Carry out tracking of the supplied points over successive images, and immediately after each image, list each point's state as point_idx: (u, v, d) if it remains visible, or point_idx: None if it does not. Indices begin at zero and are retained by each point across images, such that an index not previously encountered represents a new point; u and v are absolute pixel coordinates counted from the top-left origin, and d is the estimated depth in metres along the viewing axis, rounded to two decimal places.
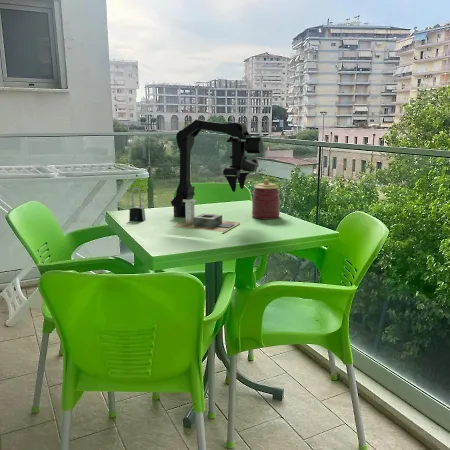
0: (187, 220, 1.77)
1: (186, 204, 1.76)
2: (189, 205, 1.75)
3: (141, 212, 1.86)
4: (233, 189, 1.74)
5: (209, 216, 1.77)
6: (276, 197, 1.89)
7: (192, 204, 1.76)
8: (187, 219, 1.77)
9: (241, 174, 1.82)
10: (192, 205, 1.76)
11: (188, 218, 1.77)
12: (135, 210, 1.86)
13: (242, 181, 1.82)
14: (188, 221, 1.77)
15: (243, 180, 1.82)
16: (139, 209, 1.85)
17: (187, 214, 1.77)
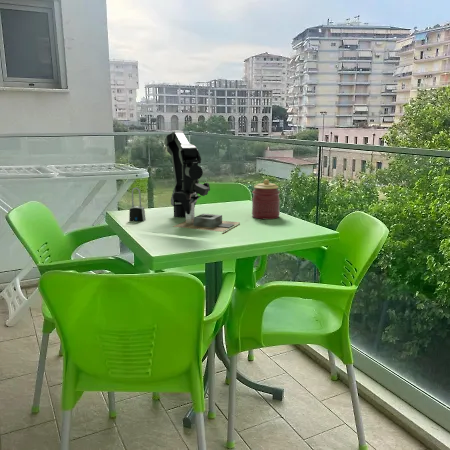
0: (187, 220, 1.77)
1: None
2: None
3: (141, 212, 1.86)
4: (187, 212, 1.76)
5: (209, 216, 1.77)
6: (276, 197, 1.89)
7: (192, 204, 1.76)
8: (187, 219, 1.77)
9: (191, 198, 1.78)
10: (192, 205, 1.76)
11: (188, 218, 1.77)
12: (135, 210, 1.86)
13: None
14: (188, 221, 1.77)
15: None
16: (139, 209, 1.85)
17: (187, 214, 1.77)
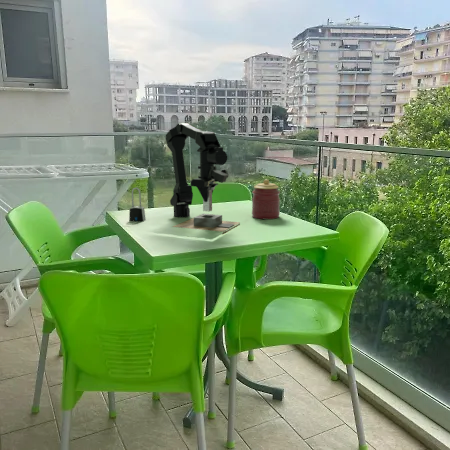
0: (204, 208, 1.73)
1: None
2: None
3: (141, 212, 1.86)
4: (205, 199, 1.71)
5: (209, 216, 1.77)
6: (276, 197, 1.89)
7: (210, 191, 1.72)
8: (204, 207, 1.73)
9: (208, 185, 1.74)
10: (210, 192, 1.72)
11: (206, 206, 1.72)
12: (135, 210, 1.86)
13: None
14: (206, 209, 1.73)
15: None
16: (139, 209, 1.85)
17: (205, 202, 1.72)
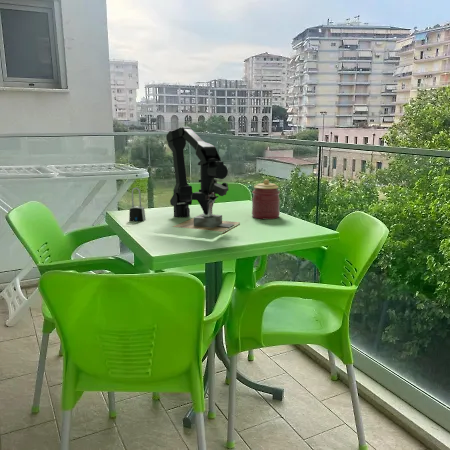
0: None
1: None
2: None
3: (141, 212, 1.86)
4: (205, 212, 1.72)
5: None
6: (276, 197, 1.89)
7: (210, 204, 1.73)
8: None
9: None
10: (210, 205, 1.73)
11: None
12: (135, 210, 1.86)
13: None
14: None
15: None
16: (139, 209, 1.85)
17: None
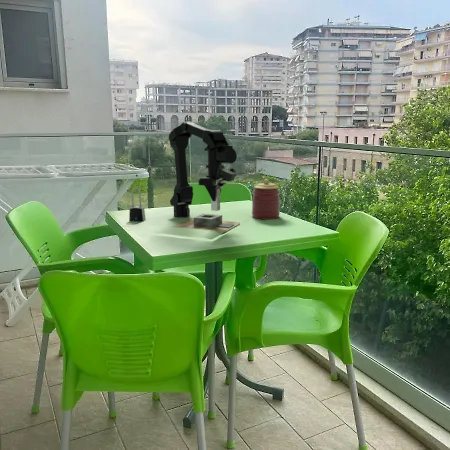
0: (213, 207, 1.71)
1: None
2: None
3: (141, 212, 1.86)
4: (213, 199, 1.69)
5: (209, 216, 1.77)
6: (276, 197, 1.89)
7: (218, 190, 1.70)
8: (213, 206, 1.71)
9: (216, 185, 1.72)
10: (218, 191, 1.70)
11: (214, 205, 1.71)
12: (135, 210, 1.86)
13: None
14: (214, 208, 1.71)
15: None
16: (139, 209, 1.85)
17: (213, 201, 1.70)
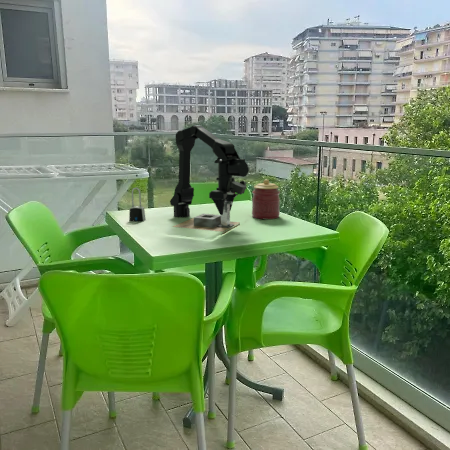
0: (222, 222, 1.71)
1: None
2: (225, 207, 1.69)
3: (141, 212, 1.86)
4: (220, 212, 1.67)
5: (209, 216, 1.77)
6: (276, 197, 1.89)
7: (228, 206, 1.70)
8: (222, 221, 1.71)
9: (228, 196, 1.74)
10: (228, 207, 1.70)
11: (224, 220, 1.70)
12: (135, 210, 1.86)
13: None
14: (224, 223, 1.71)
15: None
16: (139, 209, 1.85)
17: (222, 216, 1.70)
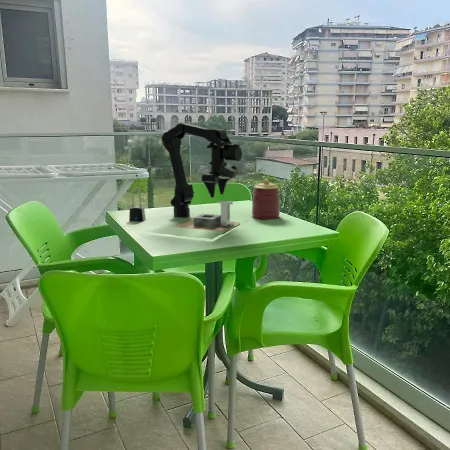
0: (222, 222, 1.71)
1: (222, 206, 1.70)
2: (225, 207, 1.69)
3: (141, 212, 1.86)
4: (212, 195, 1.75)
5: (209, 216, 1.77)
6: (276, 197, 1.89)
7: (228, 206, 1.70)
8: (222, 221, 1.71)
9: (221, 180, 1.83)
10: (228, 207, 1.70)
11: (224, 220, 1.70)
12: (135, 210, 1.86)
13: (222, 187, 1.83)
14: (224, 223, 1.71)
15: (223, 185, 1.83)
16: (139, 209, 1.85)
17: (222, 216, 1.70)
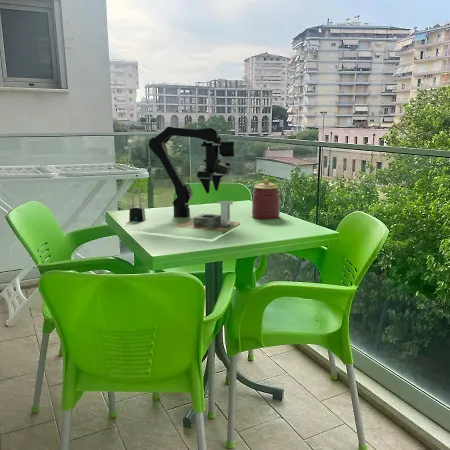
0: (222, 222, 1.71)
1: (222, 206, 1.70)
2: (225, 207, 1.69)
3: (141, 212, 1.86)
4: (207, 191, 1.83)
5: (209, 216, 1.77)
6: (276, 197, 1.89)
7: (228, 206, 1.70)
8: (222, 221, 1.71)
9: (216, 176, 1.91)
10: (228, 207, 1.70)
11: (224, 220, 1.70)
12: (135, 210, 1.86)
13: (217, 183, 1.92)
14: (224, 223, 1.71)
15: (217, 182, 1.91)
16: (139, 209, 1.85)
17: (222, 216, 1.70)
